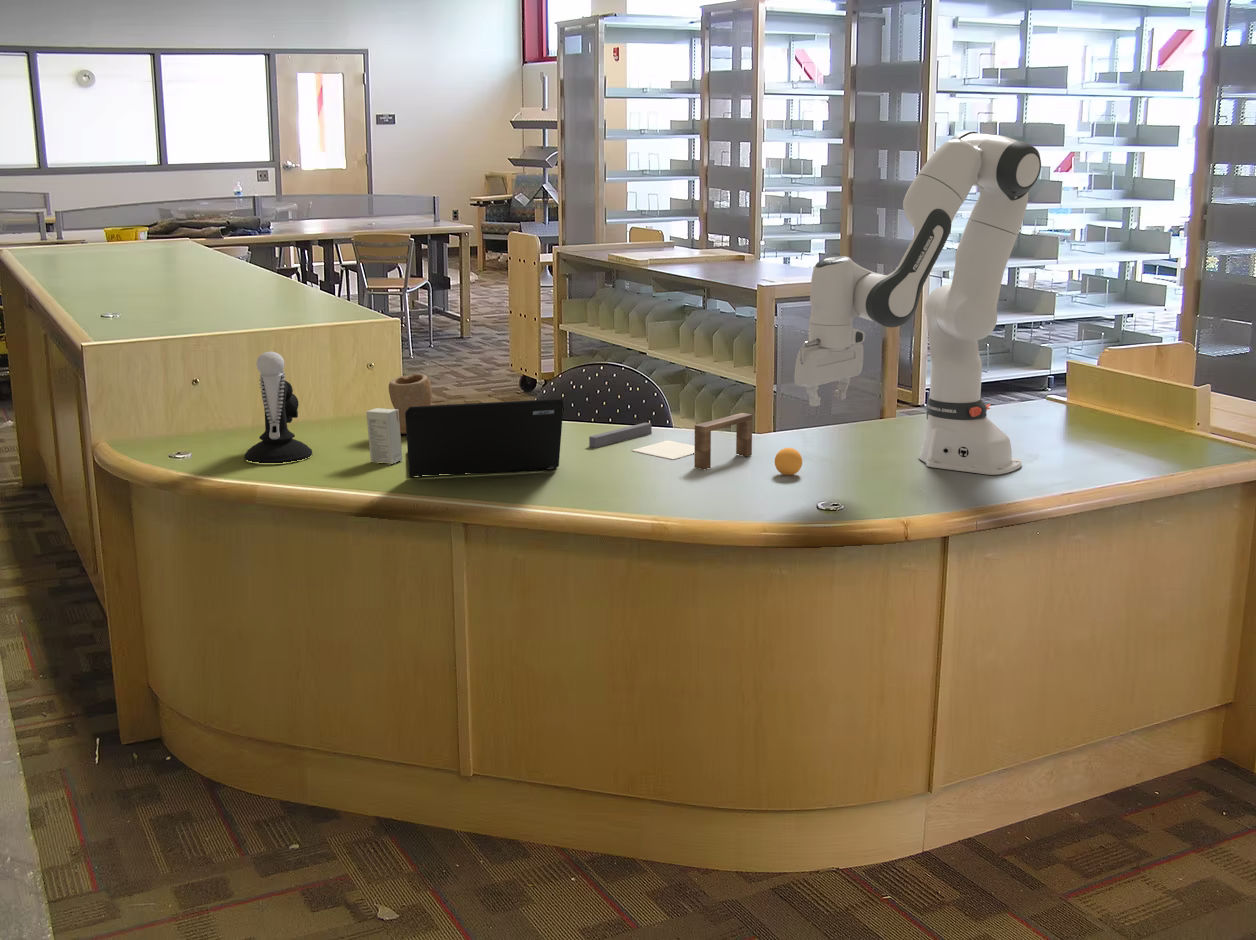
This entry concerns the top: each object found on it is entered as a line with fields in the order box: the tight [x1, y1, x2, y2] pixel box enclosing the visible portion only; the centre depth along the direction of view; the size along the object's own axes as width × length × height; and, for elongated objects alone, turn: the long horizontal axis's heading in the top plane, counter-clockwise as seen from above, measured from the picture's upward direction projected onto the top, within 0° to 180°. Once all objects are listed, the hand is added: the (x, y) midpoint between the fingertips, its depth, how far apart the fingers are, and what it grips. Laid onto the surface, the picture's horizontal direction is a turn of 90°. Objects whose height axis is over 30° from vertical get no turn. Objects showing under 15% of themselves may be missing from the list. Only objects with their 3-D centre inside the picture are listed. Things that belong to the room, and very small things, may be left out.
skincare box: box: [365, 407, 403, 465], centre depth 288 cm, size 6×4×12 cm
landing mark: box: [631, 439, 695, 461], centre depth 298 cm, size 13×13×1 cm
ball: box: [774, 447, 803, 476], centre depth 274 cm, size 6×6×6 cm
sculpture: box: [244, 351, 313, 463], centre depth 295 cm, size 15×24×25 cm, turn 6°
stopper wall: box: [588, 421, 653, 449], centre depth 308 cm, size 2×20×2 cm, turn 137°
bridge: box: [694, 412, 753, 470], centre depth 286 cm, size 3×17×10 cm, turn 137°
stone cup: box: [388, 373, 433, 435], centre depth 315 cm, size 15×12×15 cm
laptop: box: [405, 398, 564, 477], centre depth 281 cm, size 33×38×19 cm
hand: (827, 402), depth 264 cm, fingers open, 8 cm apart
